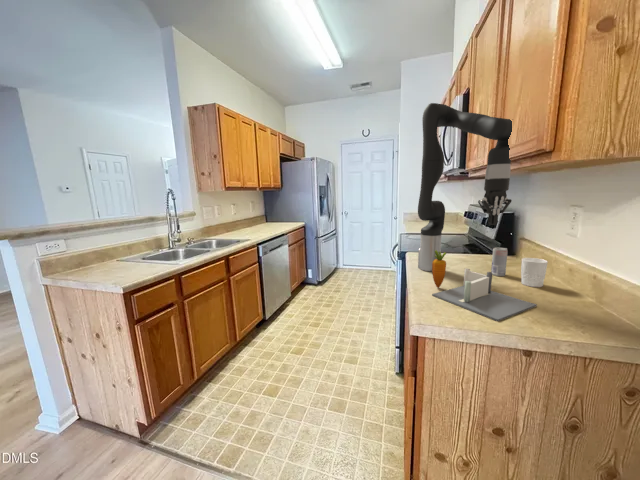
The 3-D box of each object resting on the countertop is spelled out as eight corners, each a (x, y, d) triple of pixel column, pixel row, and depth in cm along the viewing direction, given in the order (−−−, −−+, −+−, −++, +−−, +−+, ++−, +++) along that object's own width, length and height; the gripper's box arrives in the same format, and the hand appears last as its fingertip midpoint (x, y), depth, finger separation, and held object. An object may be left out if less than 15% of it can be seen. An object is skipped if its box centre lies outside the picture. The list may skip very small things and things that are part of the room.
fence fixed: (462, 286, 103) (463, 266, 102) (465, 285, 104) (466, 266, 103) (488, 294, 94) (490, 273, 93) (491, 293, 95) (493, 272, 93)
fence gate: (483, 292, 95) (484, 274, 94) (488, 293, 94) (490, 275, 93) (462, 300, 88) (463, 281, 87) (467, 302, 87) (469, 283, 86)
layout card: (432, 295, 96) (432, 293, 96) (469, 285, 105) (469, 283, 105) (497, 321, 76) (497, 319, 76) (536, 306, 85) (536, 304, 85)
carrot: (447, 288, 103) (449, 250, 100) (439, 290, 100) (441, 252, 98) (436, 284, 107) (438, 248, 105) (428, 287, 105) (430, 250, 102)
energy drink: (500, 272, 120) (503, 247, 118) (508, 276, 115) (510, 249, 113) (488, 272, 120) (490, 247, 118) (495, 276, 115) (497, 249, 113)
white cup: (514, 282, 107) (516, 258, 105) (528, 280, 109) (531, 256, 107) (535, 289, 99) (538, 263, 98) (549, 286, 102) (552, 261, 100)
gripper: (503, 177, 100) (498, 222, 104) (473, 178, 98) (469, 224, 101) (522, 176, 93) (516, 225, 96) (490, 177, 90) (485, 227, 94)
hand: (492, 224), depth 99 cm, fingers closed
